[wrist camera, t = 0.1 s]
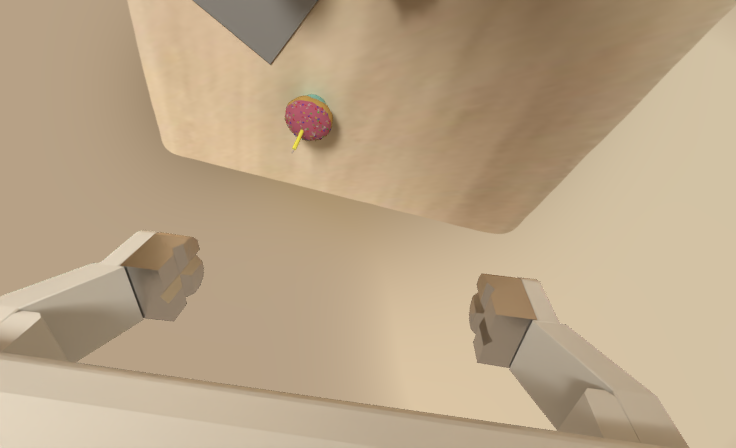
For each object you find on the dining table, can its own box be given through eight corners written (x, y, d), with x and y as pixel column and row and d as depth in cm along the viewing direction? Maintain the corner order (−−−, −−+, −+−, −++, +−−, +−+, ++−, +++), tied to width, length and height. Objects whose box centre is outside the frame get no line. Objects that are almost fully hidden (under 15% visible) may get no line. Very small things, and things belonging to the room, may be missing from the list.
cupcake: (320, 132, 71) (307, 173, 63) (283, 106, 67) (264, 146, 60) (345, 103, 65) (333, 144, 57) (305, 74, 61) (287, 113, 54)
